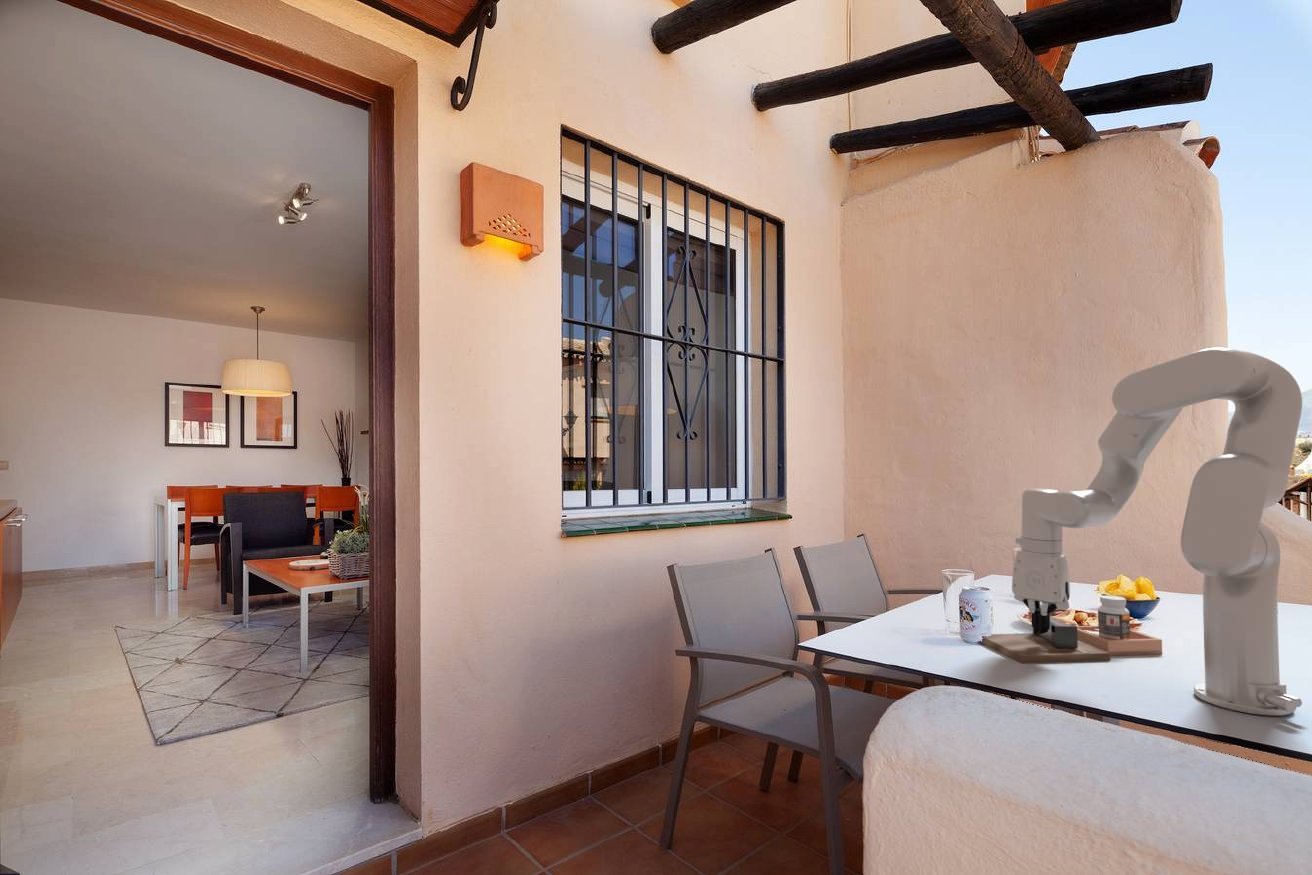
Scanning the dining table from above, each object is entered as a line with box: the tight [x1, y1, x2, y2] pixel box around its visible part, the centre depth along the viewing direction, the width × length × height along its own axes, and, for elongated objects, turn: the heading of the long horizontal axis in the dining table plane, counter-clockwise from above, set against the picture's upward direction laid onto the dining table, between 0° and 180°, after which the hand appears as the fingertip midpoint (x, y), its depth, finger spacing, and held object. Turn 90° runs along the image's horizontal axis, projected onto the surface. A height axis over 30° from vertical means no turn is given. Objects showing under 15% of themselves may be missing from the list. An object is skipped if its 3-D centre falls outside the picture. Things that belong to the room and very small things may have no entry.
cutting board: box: [981, 632, 1111, 664], centre depth 140 cm, size 16×19×2 cm
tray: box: [1076, 625, 1163, 657], centre depth 143 cm, size 12×12×3 cm
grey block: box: [1032, 614, 1078, 648], centre depth 142 cm, size 13×4×4 cm, turn 174°
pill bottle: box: [1097, 595, 1131, 640], centre depth 143 cm, size 6×6×10 cm
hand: (1040, 631), depth 139 cm, fingers closed
